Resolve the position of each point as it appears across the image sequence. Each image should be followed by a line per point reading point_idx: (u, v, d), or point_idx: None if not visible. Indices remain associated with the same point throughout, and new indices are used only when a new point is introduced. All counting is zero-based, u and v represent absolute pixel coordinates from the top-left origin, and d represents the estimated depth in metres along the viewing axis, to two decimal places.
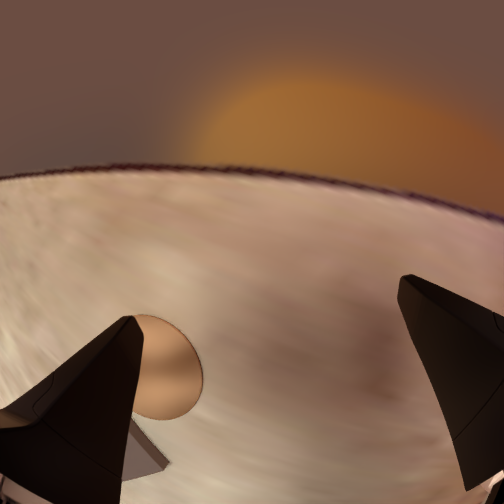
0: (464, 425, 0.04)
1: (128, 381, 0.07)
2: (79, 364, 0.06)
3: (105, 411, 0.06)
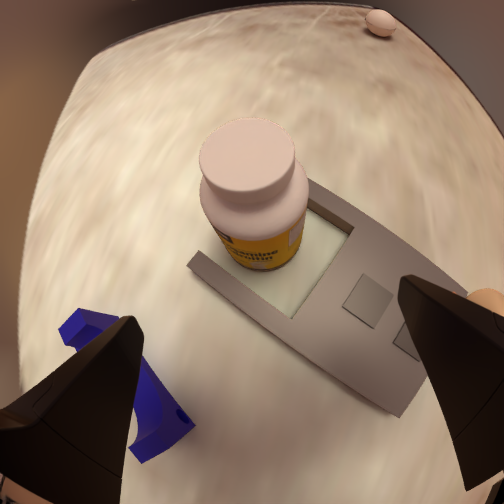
0: (464, 425, 0.04)
1: (128, 381, 0.07)
2: (79, 364, 0.06)
3: (105, 411, 0.06)
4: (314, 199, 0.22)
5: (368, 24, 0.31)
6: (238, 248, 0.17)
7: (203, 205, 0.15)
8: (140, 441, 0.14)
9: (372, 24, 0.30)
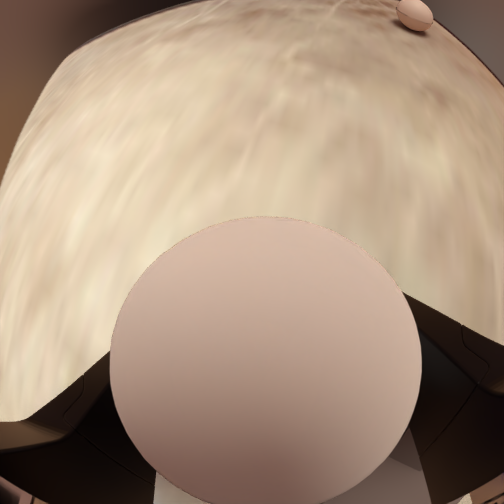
0: (429, 442, 0.04)
1: None
2: None
3: None
4: None
5: (401, 14, 0.21)
6: None
7: None
8: None
9: (406, 15, 0.21)
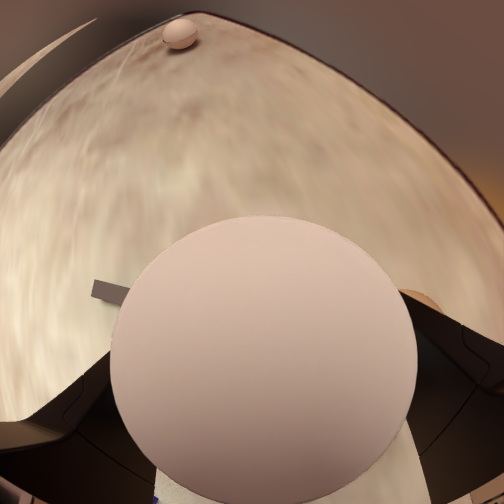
0: (429, 441, 0.04)
1: None
2: None
3: None
4: None
5: (167, 43, 0.32)
6: None
7: None
8: None
9: (170, 42, 0.31)
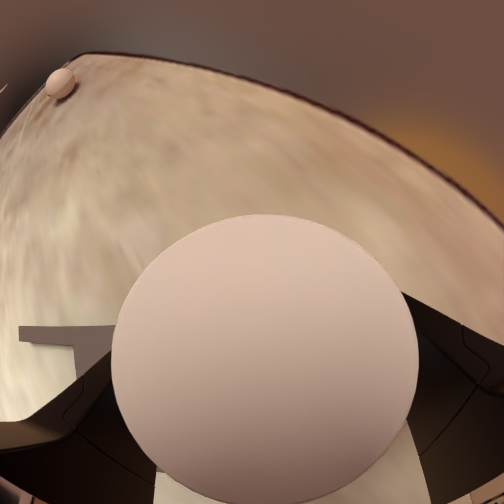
0: (429, 442, 0.04)
1: None
2: None
3: None
4: (45, 342, 0.19)
5: (51, 96, 0.30)
6: None
7: None
8: None
9: (52, 94, 0.29)
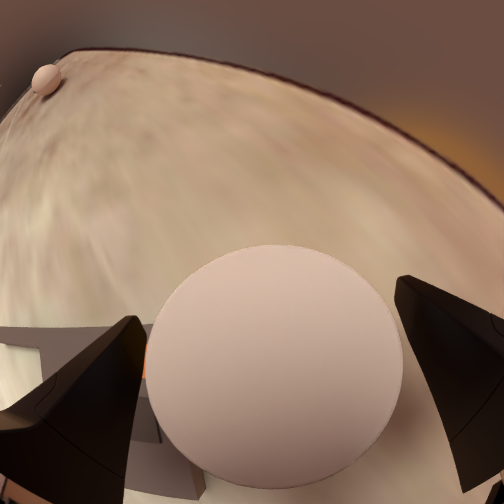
0: (460, 426, 0.04)
1: (131, 381, 0.07)
2: (82, 364, 0.06)
3: (108, 412, 0.06)
4: (15, 343, 0.16)
5: (36, 93, 0.27)
6: None
7: None
8: None
9: (37, 91, 0.27)
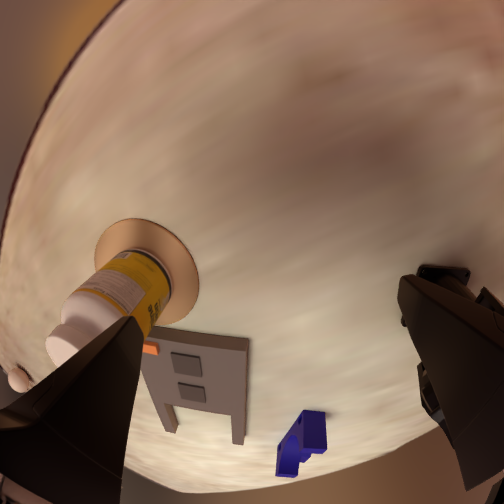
0: (464, 424, 0.04)
1: (128, 381, 0.07)
2: (79, 364, 0.06)
3: (105, 411, 0.06)
4: (168, 417, 0.32)
5: None
6: (146, 336, 0.19)
7: None
8: (312, 452, 0.25)
9: (26, 386, 0.37)
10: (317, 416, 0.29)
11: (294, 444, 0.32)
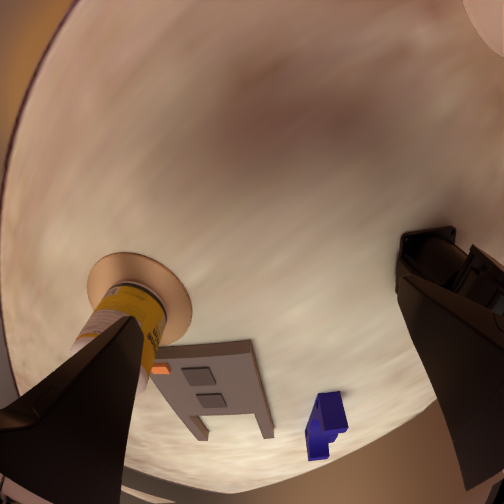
0: (464, 424, 0.04)
1: (128, 381, 0.07)
2: (79, 364, 0.06)
3: (105, 411, 0.06)
4: (197, 428, 0.33)
5: None
6: (153, 362, 0.19)
7: None
8: (335, 433, 0.27)
9: None
10: (333, 397, 0.31)
11: (319, 427, 0.33)
